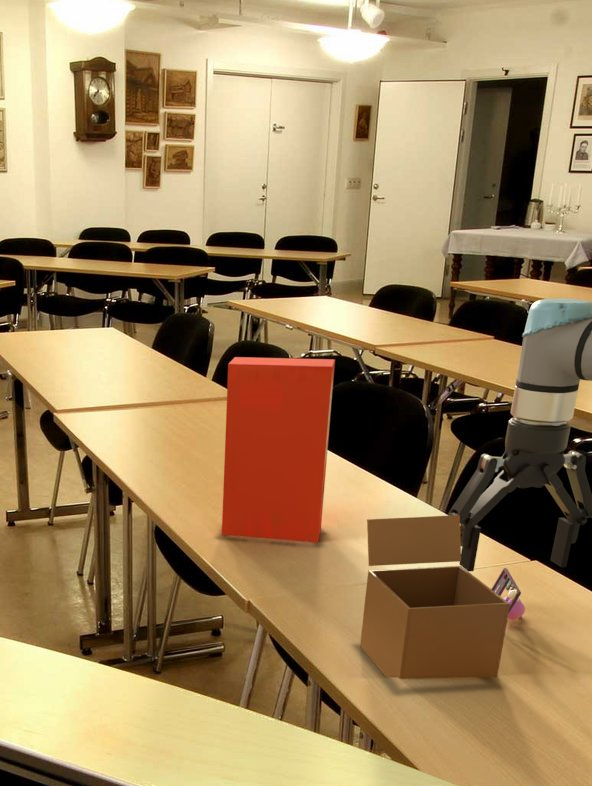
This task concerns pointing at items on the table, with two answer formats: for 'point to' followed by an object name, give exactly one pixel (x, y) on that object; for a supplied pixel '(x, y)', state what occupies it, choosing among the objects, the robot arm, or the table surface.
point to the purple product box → (510, 594)
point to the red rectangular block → (276, 447)
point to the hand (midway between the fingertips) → (512, 566)
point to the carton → (432, 623)
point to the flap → (414, 540)
